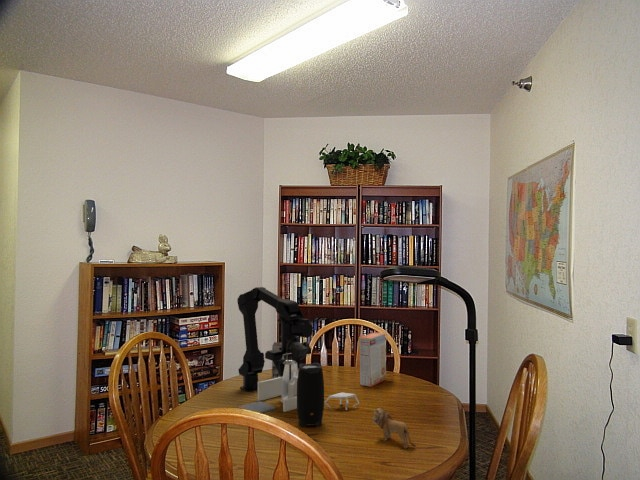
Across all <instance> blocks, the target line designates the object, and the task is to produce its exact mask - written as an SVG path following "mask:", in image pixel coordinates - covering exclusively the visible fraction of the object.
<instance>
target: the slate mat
mask: <svg viewBox="0 0 640 480" xmlns="http://www.w3.org/2000/svg"><path fill="white" fill-rule="evenodd" d="M241 407H244V408H243V409H248V410H252V411H257V412H261V413H260V414H264V413H266V412H270V411H273V410H277V407H276V406H274V405H270V404H268V403H266V402H264V401H262V400H261V401H258V400H257V401H255V402H251V403H247V404H244V405H239V406H237V409H238V408H241Z"/></svg>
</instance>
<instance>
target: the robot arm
mask: <svg viewBox="0 0 640 480" xmlns="http://www.w3.org/2000/svg"><path fill="white" fill-rule="evenodd" d="M261 301H262V302H264V303H265V304H268V305H269V306H271V307H272V308H274V309H275V311H276V313H277V314H278V315H279V316H280V317H279V318H278V319H277V322H280V323H281V336H278V337H279V338H278V339H279V340H281V347H279V350H281V351H277V350H272V349H271V350H267V351H266V352H265V354H264V352H262V351H261V350H260V349H259V342H258V330H257V320H256V313H257V310H258V309H259V303H260V302H261ZM237 306H238V310H239V311H240V313H241V314H242V318H243V326H244V328H243V329H244V338H245V339H244V340H245V348H246V350H245V353H244V355H243V358H242V364H241V365H240V367H239V368H238V370H237V371H238V375H240V376H242V381H243V382H242V384H243V385H242V386H240V387H239V389H241V390H244V391H245V392H252V391H256V390H257V391H258V382H259V375H258V374H263V369H264V366H265V363H266V360H270V361H271V362H272V361H273V362H274V364H275V366H276V368H277V371H278V373H279V375H280V377H282V376H283V363H284V361H285V360H284V359H283V356H286V355H288V356H292V360H295V361H297V366H298V370H299V365H300V364H302V361H303V359H305V358H307V356H308V355H311V354H312V348H311V345H310V342H309V341H304V342H300V337H301V338H307V339H308V338H311V336H312V335H313V331H314V327H313V324H312V323H311V322H310V319H309V318H305V316H304V314H303V312H302V309H301V308H300V306H299V303H298V302H297V301H296V300H291V299H285V298H283V297H281V296H279V295H277V294H275V293H273V292H272V291H270V290H268V289H267V288H266V287H264V286H260V287H259V286H258V287H254V288H252V289H251V290H249V291H246V292H244V293H242V294H241V293H240V294H239V296H238V297H237Z"/></svg>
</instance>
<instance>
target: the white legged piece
mask: <svg viewBox="0 0 640 480" xmlns="http://www.w3.org/2000/svg"><path fill="white" fill-rule="evenodd" d="M350 398H354V399H355V401H356V402H357V403H355V404H353V408H354V409H357V407H356V406H357V405H359V404H360V401H359V399H358V397H357V394H355V393H350V392H349V393H348V392H343V391H342V392H339V393H335V394H330V395H329V396H328V397H327V399H326V400H324V405H326V406H328V407H327V408H328V409H330V408H331V405H329V404H328V403H327V402H328V401H330V400H331V399H339V404H340V406H342V405H343V404H342V403H343V399H345V401H346V403H345V411H348V406H349V403H350V401H349V399H350Z"/></svg>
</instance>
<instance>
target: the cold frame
mask: <svg viewBox="0 0 640 480" xmlns="http://www.w3.org/2000/svg"><path fill="white" fill-rule="evenodd" d="M297 379H298V378H297ZM295 392H296V397H293V398H289V399H285V400H283V403H282V412H284V413H286V412H290V411H293V410H296V409H297V384H296V391H295ZM281 395H282V388H281V382H280V377H278V378H274V379H272V378H270V379H266V380H261V381H258V389H257V402H258V401H261V402H262V401H264V400H268V399H272V398H275V397H281Z"/></svg>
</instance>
